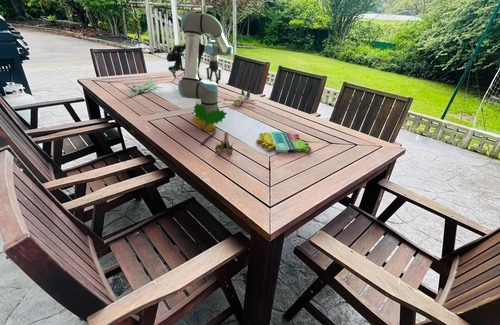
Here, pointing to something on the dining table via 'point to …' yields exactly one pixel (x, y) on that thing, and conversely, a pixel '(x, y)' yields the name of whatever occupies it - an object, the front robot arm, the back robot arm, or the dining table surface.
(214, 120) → the ornament
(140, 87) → the airplane
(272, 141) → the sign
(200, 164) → the dining table surface
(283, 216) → the dining table surface
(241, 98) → the toy
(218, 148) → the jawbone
